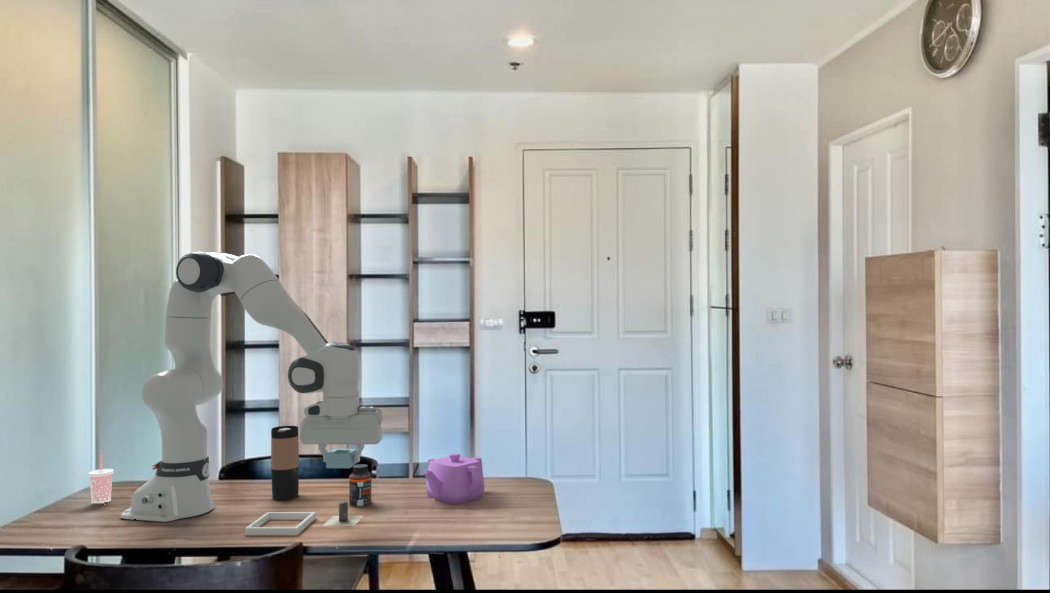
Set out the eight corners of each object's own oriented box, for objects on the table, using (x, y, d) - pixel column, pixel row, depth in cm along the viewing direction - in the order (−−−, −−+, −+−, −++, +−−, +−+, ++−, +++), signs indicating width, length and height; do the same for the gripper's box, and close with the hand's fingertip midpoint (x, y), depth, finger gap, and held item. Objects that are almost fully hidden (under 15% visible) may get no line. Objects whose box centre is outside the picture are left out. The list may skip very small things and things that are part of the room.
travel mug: (290, 491, 202) (289, 424, 202) (304, 496, 197) (303, 427, 197) (266, 497, 196) (265, 428, 196) (280, 502, 191) (280, 431, 192)
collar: (326, 468, 168) (325, 454, 168) (335, 461, 175) (335, 447, 175) (349, 468, 168) (349, 454, 168) (358, 461, 175) (358, 447, 175)
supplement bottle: (365, 510, 182) (365, 468, 182) (345, 509, 183) (345, 467, 183) (375, 504, 188) (374, 463, 188) (355, 503, 189) (354, 462, 189)
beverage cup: (87, 502, 193) (87, 453, 194) (112, 498, 197) (112, 450, 197) (89, 507, 189) (89, 457, 189) (115, 503, 192) (114, 453, 192)
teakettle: (484, 504, 186) (483, 459, 187) (422, 506, 186) (421, 461, 186) (485, 488, 204) (484, 447, 204) (428, 489, 203) (427, 448, 203)
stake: (322, 529, 167) (322, 507, 167) (333, 519, 175) (332, 498, 175) (354, 529, 166) (354, 507, 166) (363, 519, 174) (363, 498, 174)
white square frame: (245, 539, 161) (244, 528, 161) (267, 522, 173) (267, 512, 173) (297, 539, 160) (297, 528, 160) (315, 522, 173) (315, 512, 173)
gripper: (385, 404, 174) (385, 458, 173) (306, 405, 175) (307, 458, 174) (378, 408, 167) (379, 464, 167) (297, 408, 168) (297, 464, 168)
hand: (341, 461), depth 171 cm, fingers closed on collar, 6 cm apart
